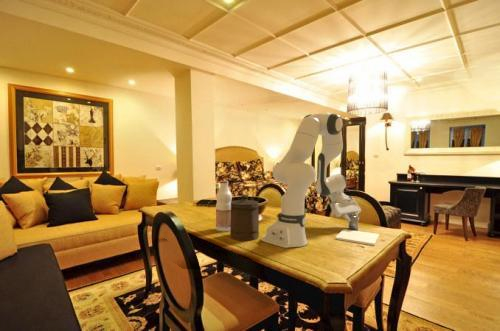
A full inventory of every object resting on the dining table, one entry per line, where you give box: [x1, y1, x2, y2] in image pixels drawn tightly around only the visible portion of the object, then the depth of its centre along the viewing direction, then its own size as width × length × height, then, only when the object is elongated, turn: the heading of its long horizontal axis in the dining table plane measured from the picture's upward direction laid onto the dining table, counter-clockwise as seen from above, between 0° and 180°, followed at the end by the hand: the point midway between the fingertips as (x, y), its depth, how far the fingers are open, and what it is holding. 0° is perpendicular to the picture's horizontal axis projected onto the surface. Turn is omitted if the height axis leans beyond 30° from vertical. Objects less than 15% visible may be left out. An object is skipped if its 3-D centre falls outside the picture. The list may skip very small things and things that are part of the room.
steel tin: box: [348, 215, 359, 231], centre depth 144 cm, size 5×5×8 cm
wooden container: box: [229, 194, 260, 242], centre depth 131 cm, size 15×15×22 cm
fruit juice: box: [215, 180, 233, 232], centre depth 144 cm, size 9×9×28 cm
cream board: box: [334, 228, 380, 246], centre depth 130 cm, size 18×18×1 cm
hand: (354, 220), depth 143 cm, fingers closed on steel tin, 5 cm apart
